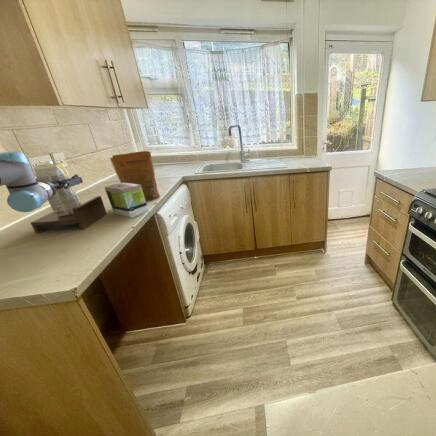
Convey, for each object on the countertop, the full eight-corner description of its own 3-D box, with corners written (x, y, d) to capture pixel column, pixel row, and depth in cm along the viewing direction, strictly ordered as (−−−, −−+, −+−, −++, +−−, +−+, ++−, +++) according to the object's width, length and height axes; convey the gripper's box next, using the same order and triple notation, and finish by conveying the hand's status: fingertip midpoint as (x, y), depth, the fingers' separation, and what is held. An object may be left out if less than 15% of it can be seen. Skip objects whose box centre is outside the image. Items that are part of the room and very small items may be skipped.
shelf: (35, 233, 107) (24, 212, 103) (65, 217, 123) (57, 198, 119) (84, 229, 109) (75, 209, 105) (107, 214, 125) (100, 195, 121)
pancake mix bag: (163, 199, 144) (149, 151, 133) (126, 205, 137) (108, 155, 125) (163, 196, 150) (150, 149, 138) (127, 202, 143) (110, 153, 131)
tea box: (149, 211, 127) (141, 183, 121) (130, 218, 119) (120, 189, 113) (132, 207, 134) (123, 181, 128) (113, 214, 126) (102, 186, 120)
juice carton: (84, 208, 119) (63, 159, 109) (80, 213, 113) (56, 161, 103) (60, 212, 116) (36, 161, 106) (54, 218, 109) (27, 164, 99)
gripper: (0, 206, 90) (25, 191, 107) (84, 195, 100) (95, 183, 117) (-11, 186, 87) (17, 174, 104) (77, 177, 97) (89, 167, 114)
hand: (58, 179), depth 111 cm, fingers open, 13 cm apart
